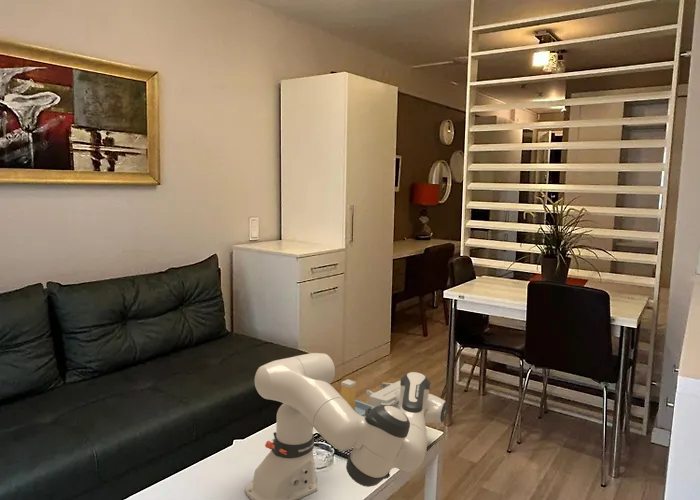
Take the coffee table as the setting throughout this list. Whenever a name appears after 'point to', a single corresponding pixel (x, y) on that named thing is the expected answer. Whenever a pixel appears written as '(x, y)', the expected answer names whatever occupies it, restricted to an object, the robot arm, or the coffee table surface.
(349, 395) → the block
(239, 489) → the coffee table surface
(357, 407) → the parts tray
